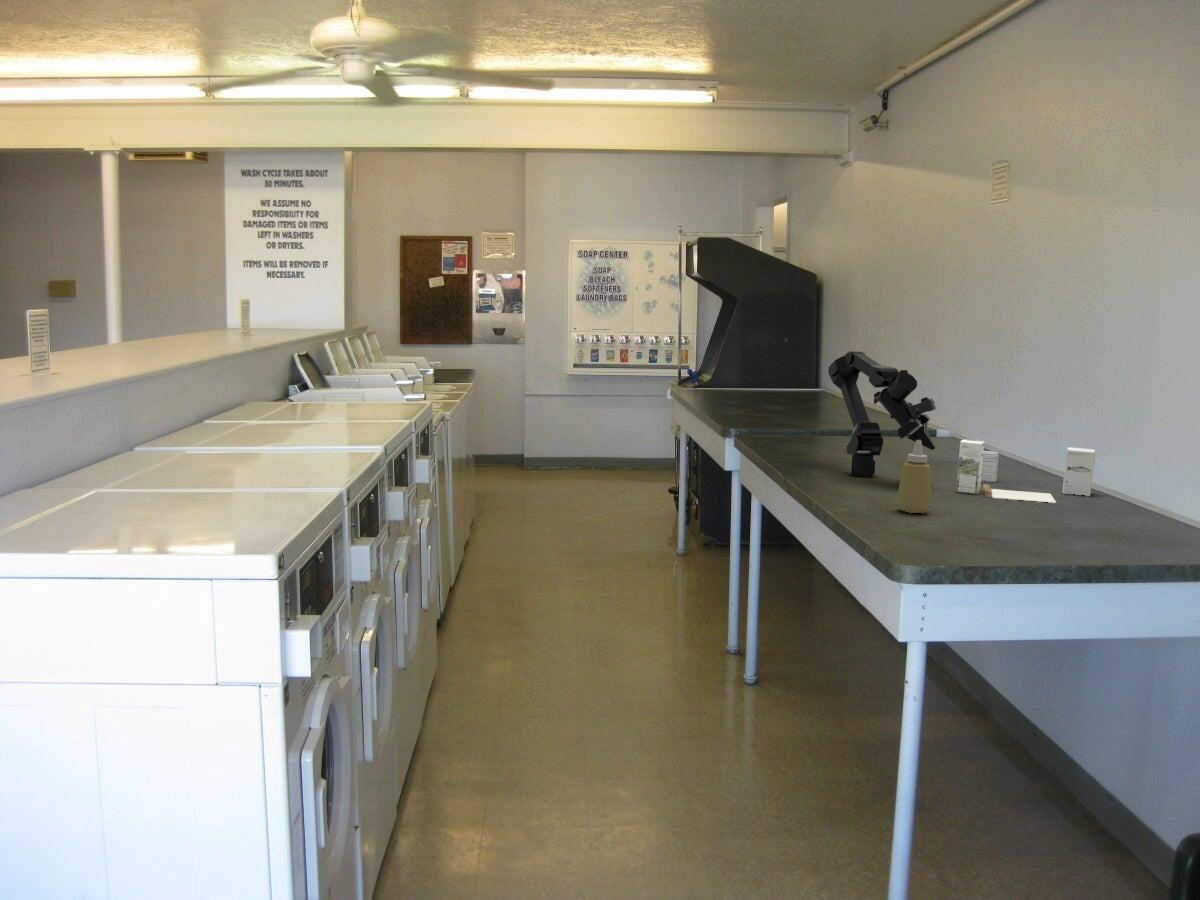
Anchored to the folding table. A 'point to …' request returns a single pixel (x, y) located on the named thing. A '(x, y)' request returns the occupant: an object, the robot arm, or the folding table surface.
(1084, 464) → the supplement box
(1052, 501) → the mat
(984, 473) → the medicine box
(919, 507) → the squeeze bottle
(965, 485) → the syrup box
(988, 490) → the strip
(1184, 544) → the folding table surface
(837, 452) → the folding table surface
